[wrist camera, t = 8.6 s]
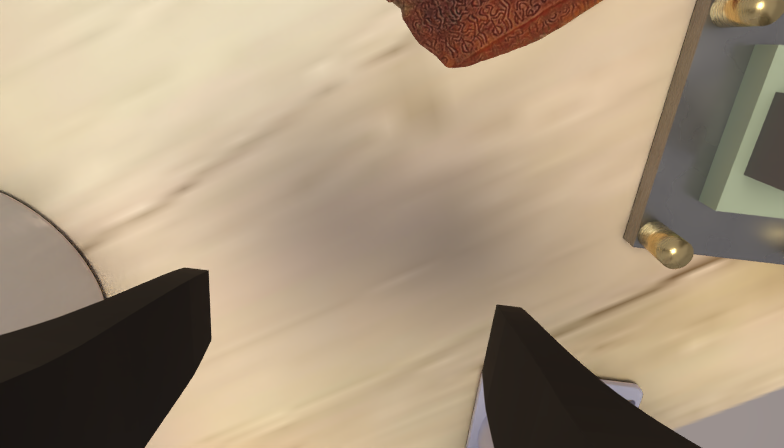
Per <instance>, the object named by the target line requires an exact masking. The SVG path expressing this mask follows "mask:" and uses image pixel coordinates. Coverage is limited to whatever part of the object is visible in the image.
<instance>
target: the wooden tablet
mask: <svg viewBox="0 0 784 448" xmlns="http://www.w3.org/2000/svg"><path fill="white" fill-rule="evenodd" d="M387 1H388V2H393V3H394V4H395V5H396V6H398V7H399V8H401V12H402V17H403V20H404V21H405V23H406V24H407V26H408V28H409V29H410V31H411V33H412V34H413V36H414V37H415V39H416V40H417V41H418V43H419V44H420V45H422V46H423V47H425V48H426V49H427V50H429V51H430V52H431V53H433V54H434V55H435V56H437V57H438V59H439V60H440V61H441V62H442V63H443V64H444V65H445V66H446V67H448V68H458V67H466V66H470V65H473V64H476V63H478V62H480V61H484V60H487V59H490V58H493V57H496V56H499V55H501V54H505V53H508V52H510V51H512V50H515V49H517V48H520V47H523V46H526V45H528V44H530V43H533V42H535V41H538V40H540V39H542V38H543V37H545V36H546V35H548V34H550V33H551V32H553V31H555V30H557V29H559V28H560V27H562V26H564V25H565V24H567V23H568V22H570V21H571V20H573V19H574V18H576V17H577V16H579V15H580V14H582V13H583V12H585V11H586V10H588V9H590V8H591V7H593V6H594V5H596V4H598V3H599V2H601V1H602V0H387Z"/></svg>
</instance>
